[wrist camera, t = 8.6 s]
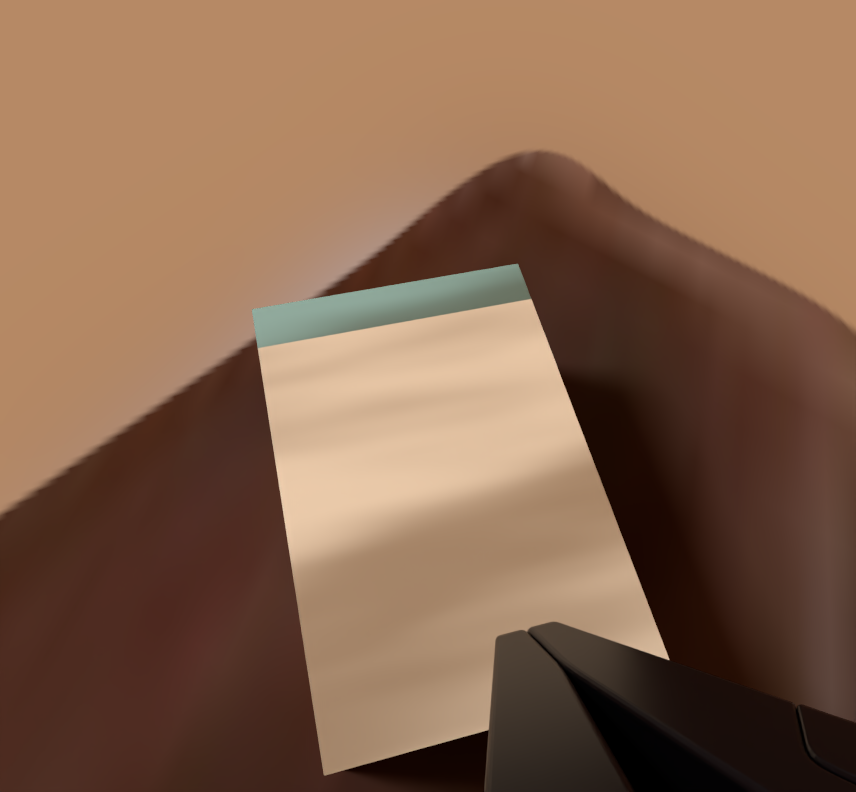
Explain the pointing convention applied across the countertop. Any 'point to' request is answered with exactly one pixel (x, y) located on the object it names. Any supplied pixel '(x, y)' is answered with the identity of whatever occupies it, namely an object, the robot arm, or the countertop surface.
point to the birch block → (432, 504)
